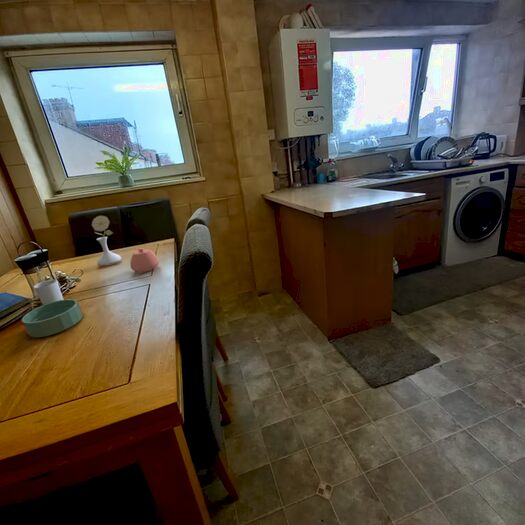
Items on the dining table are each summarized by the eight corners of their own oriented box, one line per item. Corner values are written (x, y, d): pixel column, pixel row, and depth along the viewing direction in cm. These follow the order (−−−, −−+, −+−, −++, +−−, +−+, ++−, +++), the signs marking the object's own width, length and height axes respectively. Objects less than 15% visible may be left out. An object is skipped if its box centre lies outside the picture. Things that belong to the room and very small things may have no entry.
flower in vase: (92, 268, 140) (75, 219, 132) (109, 260, 151) (94, 214, 142) (114, 267, 137) (98, 217, 128) (129, 259, 147) (115, 212, 139)
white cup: (61, 302, 104) (51, 278, 100) (70, 305, 100) (60, 280, 97) (41, 311, 98) (30, 286, 95) (50, 315, 95) (38, 288, 92)
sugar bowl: (136, 276, 120) (130, 254, 117) (128, 269, 131) (122, 249, 127) (164, 268, 127) (158, 246, 124) (154, 261, 138) (148, 242, 134)
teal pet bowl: (19, 344, 80) (10, 327, 78) (43, 319, 93) (37, 304, 91) (72, 332, 82) (66, 316, 80) (89, 309, 95) (83, 295, 94)
